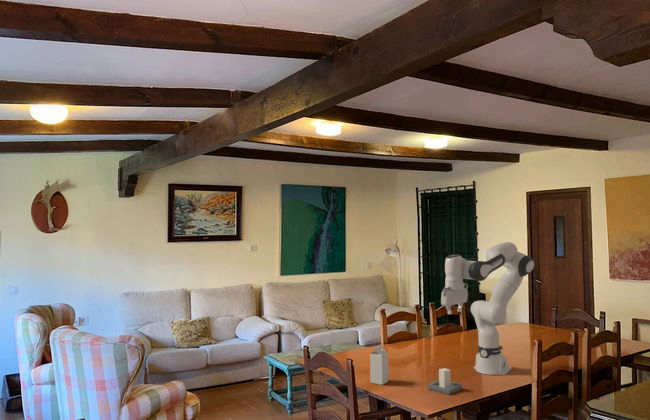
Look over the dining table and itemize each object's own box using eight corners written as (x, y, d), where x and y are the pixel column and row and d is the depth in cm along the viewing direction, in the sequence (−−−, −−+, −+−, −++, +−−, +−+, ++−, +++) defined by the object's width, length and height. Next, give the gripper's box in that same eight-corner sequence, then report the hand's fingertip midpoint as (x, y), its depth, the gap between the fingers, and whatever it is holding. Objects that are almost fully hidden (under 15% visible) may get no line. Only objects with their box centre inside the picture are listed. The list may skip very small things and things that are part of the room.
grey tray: (441, 384, 254) (441, 379, 254) (462, 389, 246) (461, 384, 246) (428, 389, 246) (428, 384, 246) (449, 394, 237) (448, 389, 237)
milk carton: (370, 383, 257) (369, 346, 258) (376, 379, 263) (376, 343, 264) (382, 385, 253) (381, 348, 254) (388, 381, 259) (387, 345, 260)
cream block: (445, 385, 248) (445, 368, 249) (450, 388, 245) (450, 369, 245) (439, 387, 247) (438, 369, 247) (444, 389, 243) (444, 371, 244)
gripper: (448, 288, 244) (449, 316, 243) (469, 284, 258) (470, 311, 258) (437, 287, 249) (438, 314, 248) (458, 284, 263) (459, 309, 262)
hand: (454, 312), depth 253 cm, fingers open, 8 cm apart
